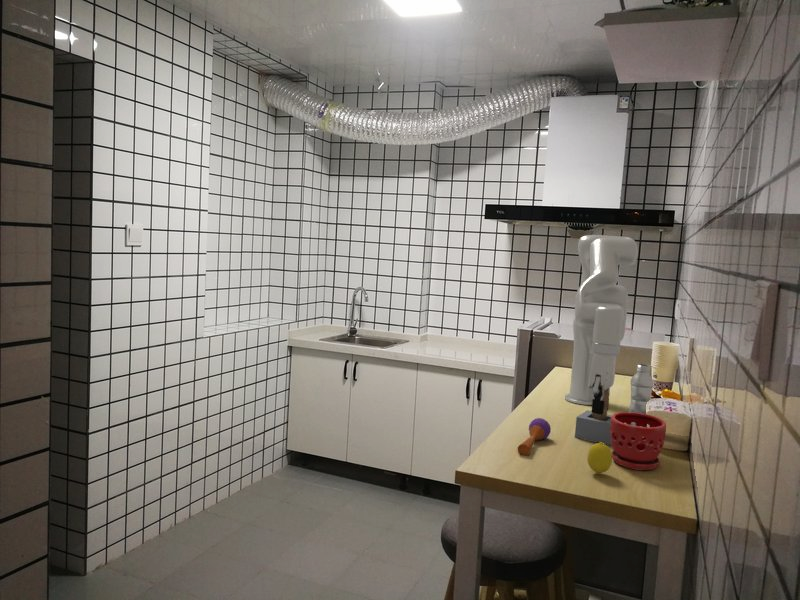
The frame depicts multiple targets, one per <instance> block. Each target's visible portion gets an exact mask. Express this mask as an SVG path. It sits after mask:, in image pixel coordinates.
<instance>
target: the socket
mask: <svg viewBox="0 0 800 600" xmlns="http://www.w3.org/2000/svg"><path fill="white" fill-rule="evenodd" d="M612 415H613V414H608V413H607V418H606V421H603V420H599V419H594V418H592V410H589V409H586V410H585V411H584V412H582V413H581V414H579V415H577V416H576V419H575V431H574V438H576V437H577V438H576V439H580V438H581V440H584V439H586V440H585V441H590V442H593V441H594V443H597V442H603V443H604V444H605V445H606V444H607V445H606V446H612V443H611V434H610V423H611V416H612Z"/></svg>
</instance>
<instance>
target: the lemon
mask: <svg viewBox="0 0 800 600" xmlns="http://www.w3.org/2000/svg"><path fill="white" fill-rule="evenodd" d="M611 452H612V450H611V449H610V447H609V445H606V444H603V442H599V443H597V442H595V443H594V444H593V445H591V447H590V448H589V450H588V452H587V453H588V454H587V463H588V464H587V465H588V466H589V468H590V469H591V470H592V471H593V472H595V474H596V475H598V474H599V475H601V474H603V473H605V472H607V471H609V469H610V468H611V466H612V461H613V458H612V454H611Z"/></svg>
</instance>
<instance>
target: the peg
mask: <svg viewBox="0 0 800 600" xmlns="http://www.w3.org/2000/svg"><path fill="white" fill-rule="evenodd" d="M599 389H602V387H599ZM599 392H600V393H601V391H599ZM608 398H610V395H609V388H608V389H606V390H605V392H604V399H603V401H604V411H603V414H602V415H601V414H596V413H592V418H594V419H599V420H603V421H606V418H607V414H608V411H607V407H608V408H609V405H608Z"/></svg>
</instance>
